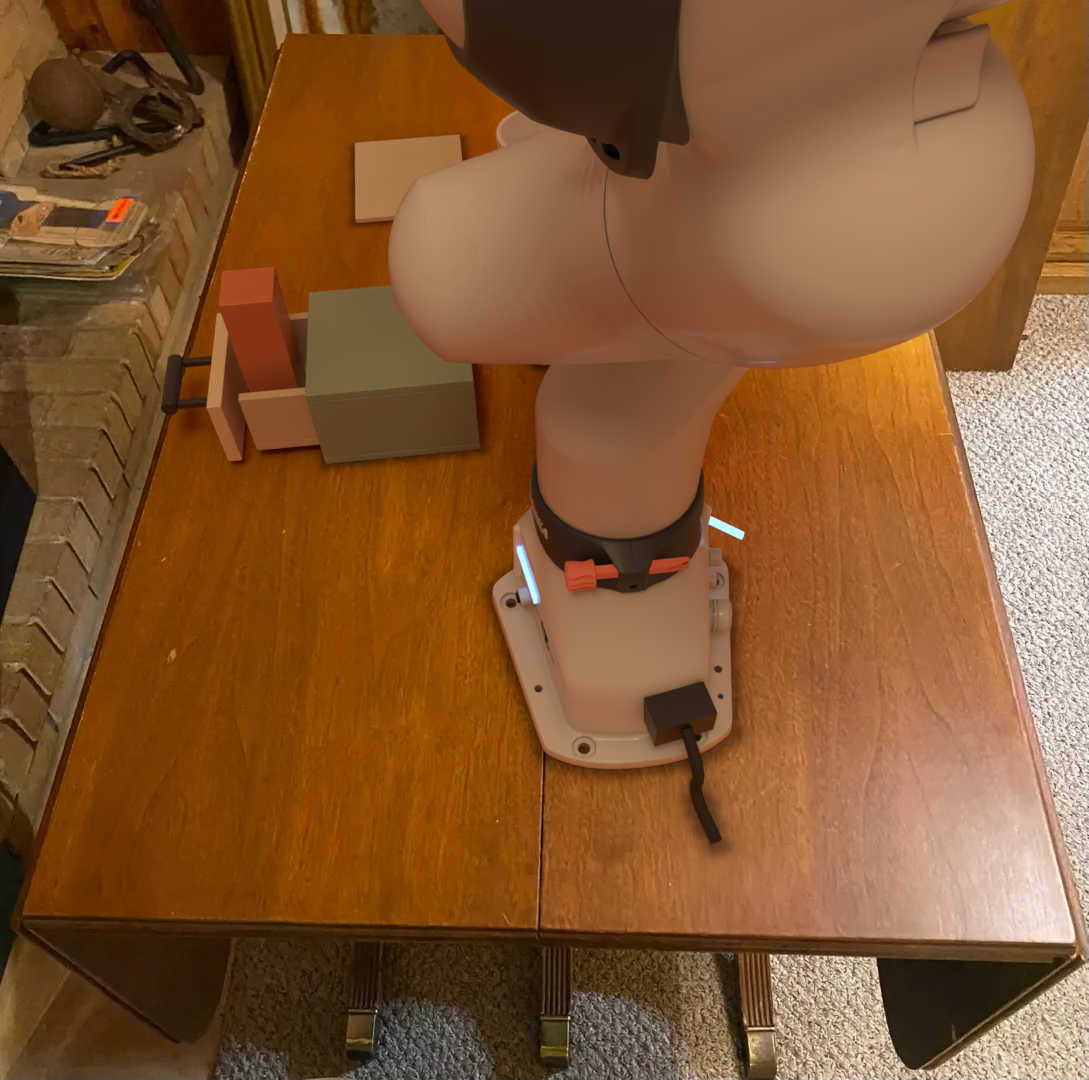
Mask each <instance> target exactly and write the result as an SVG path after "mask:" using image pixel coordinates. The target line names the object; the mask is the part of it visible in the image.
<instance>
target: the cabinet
mask: <svg viewBox="0 0 1089 1080" xmlns="http://www.w3.org/2000/svg"><path fill="white" fill-rule="evenodd" d="M307 305H308V306H307V307H308V308H307V312H308V329H307V358H306V387H305V397H306V400H307V404H308V407H309V410H310V414H311V417H312V420H313V424H314V427H315V430H316V434H317V437H318V441H319V447H320V451H321V453H322V457H323V461H324V464H325V465H331V464H341V463H342V464H343V463H353V462H362V461H372V460H373V461H374V460H383V459H384V460H385V459H394V458H395V459H396V458H402V457H403V458H405V457H415V456H424V455H425V456H426V455H437V454H444V453H455V452H456V453H457V452H458V453H459V452H467V451H478V450H481V441H480V430H479V421H478V420H479V419H478V411H477V410H478V409H477V401H476V391H475V382H474V370H473V364H470V363H451V362H446V361H445V360H443V359H442V358H440V357H439V356H437V355H436V354H435V353H434V352H433V351H431V350H430V349H429V348H428V347H427V346H425V345H424V344H423V343H422V341H421V340H420V339H419V338H418V337H417V336H416V335H415V333H414V332H413V331H412V330H411V328H410V327H409V325H408V323H407V322H406V320H405V319H404V317H403V315H402V313H401V311H400V309H399V307H398V305H397V302H396V300H395V297H394V294H393V290H392V286H391V284H389V285H378V286H366V287H365V286H364V287H355V288H342V289H331V290H320V291H309V292H308V304H307Z"/></svg>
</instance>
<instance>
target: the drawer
mask: <svg viewBox="0 0 1089 1080" xmlns="http://www.w3.org/2000/svg"><path fill="white" fill-rule="evenodd" d="M288 314H289V318H290V321H291V325H292V328H293V332H294V335H295V339H296V342H297V345H298V349H299V352H300V356H301V359H302V363H303V366H304V370H305V373H306V358H307V329H308V311H305V312H304V311H303V312H295V313H294V312H293V313H288ZM211 353H212V354H211V355H207V356H195V357H183V356H182V355H180V354H177V353H173V354H170V355H169V356H168V357H167V362H166V369H165V375H164V381H163V382H164V383H163V389H162V395H161V402H160V410H161V412H162V413H163V414H164V415H167V416H174V415H176V414H177V413H178V412H179V410H185V409H186V410H187V409H196V408H198V409H199V408H206V410H207V413H208V415H209V418H210V420H211V423H212V425H213V427H214V430H215V432H216V435H217V437H218V440H219V442H220V445H221V447H222V449H223V451H224V454H225V456H226V459H227V461H228V462H236V461H237V462H238V461H243V455H244V454H243V453H244V444H245V443H244V442H245V432H246V431H245V430H246V424H247V427H248V430H249V433H250V435H251V438H252V441H253V443H254V446H255V448H256V451H266V450H275V449H287V448H288V449H289V448H296V447H309V446H318V445H319V446H320V444H319V441H318V437H317V434H316V430H315V427H314V424H313V420H312V417H311V414H310V410H309V407H308V404H307V400H306V397H305V388H294V389H283V390H272V391H261V392H251V393H249V390H248V387H247V384H246V382H245V379H244V376H243V373H242V370H241V368H240V365H239V362H238V359H237V357H236V354H235V351H234V348H233V345H232V343H231V340H230V337H229V334H228V332H227V329H226V326H225V323H224V320H223V318H222V315H221V312H217V313H216V318H215V327H214V336H213V345H212V352H211ZM205 366H210V372H209V378H208V379H209V380H208V387H207V388H208V389H207V396H203V397H193V398H191V397H190V398H181V392H182V385H183V377H184V371H185V370H184V369H185V368H194V367H205Z"/></svg>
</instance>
